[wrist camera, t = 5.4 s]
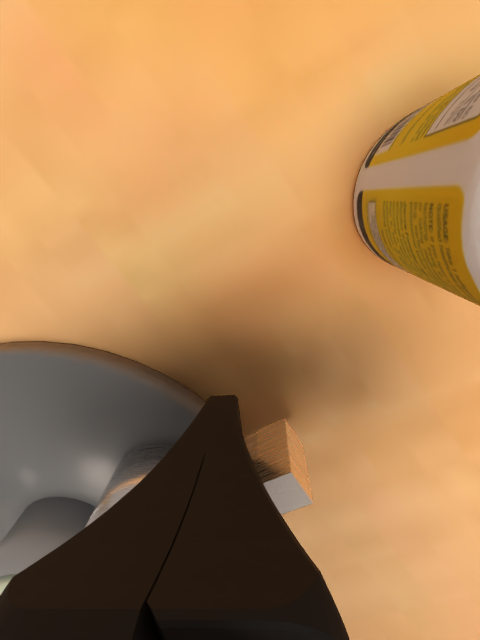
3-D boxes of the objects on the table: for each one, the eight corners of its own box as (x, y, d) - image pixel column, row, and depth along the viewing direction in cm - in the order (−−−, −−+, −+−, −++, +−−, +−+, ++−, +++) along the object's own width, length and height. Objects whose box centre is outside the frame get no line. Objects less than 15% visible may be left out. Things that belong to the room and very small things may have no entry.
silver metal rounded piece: (157, 532, 15) (135, 604, 12) (93, 468, 13) (53, 534, 11) (319, 469, 13) (335, 540, 10) (264, 387, 11) (266, 443, 9)
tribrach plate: (282, 617, 19) (290, 749, 15) (-12, 616, 21) (-87, 732, 16) (252, 322, 12) (249, 399, 7) (-194, 359, 14) (-420, 439, 9)
